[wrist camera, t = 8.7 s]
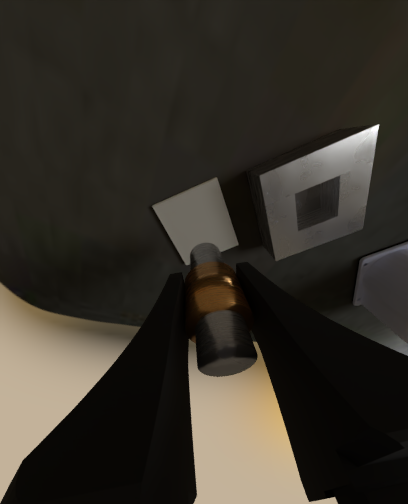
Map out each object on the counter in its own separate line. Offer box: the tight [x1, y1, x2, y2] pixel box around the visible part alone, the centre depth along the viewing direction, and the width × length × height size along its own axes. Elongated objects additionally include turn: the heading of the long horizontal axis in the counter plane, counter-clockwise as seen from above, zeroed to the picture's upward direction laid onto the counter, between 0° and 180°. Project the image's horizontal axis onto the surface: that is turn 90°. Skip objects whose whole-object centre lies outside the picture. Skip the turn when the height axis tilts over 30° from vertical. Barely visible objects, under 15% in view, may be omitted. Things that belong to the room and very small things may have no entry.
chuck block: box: [246, 124, 379, 261], centre depth 15 cm, size 8×8×3 cm
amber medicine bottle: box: [185, 243, 257, 377], centre depth 9 cm, size 3×3×7 cm
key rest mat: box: [152, 177, 239, 265], centre depth 16 cm, size 7×6×1 cm
